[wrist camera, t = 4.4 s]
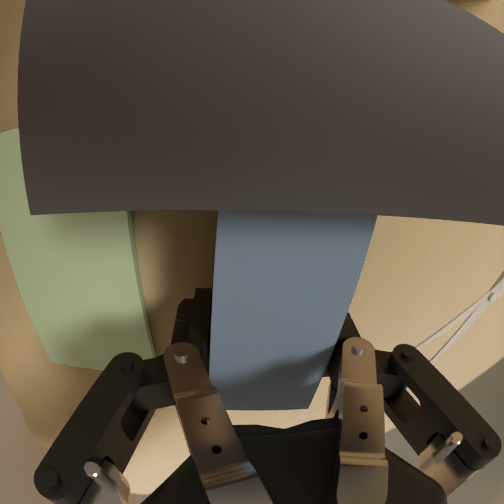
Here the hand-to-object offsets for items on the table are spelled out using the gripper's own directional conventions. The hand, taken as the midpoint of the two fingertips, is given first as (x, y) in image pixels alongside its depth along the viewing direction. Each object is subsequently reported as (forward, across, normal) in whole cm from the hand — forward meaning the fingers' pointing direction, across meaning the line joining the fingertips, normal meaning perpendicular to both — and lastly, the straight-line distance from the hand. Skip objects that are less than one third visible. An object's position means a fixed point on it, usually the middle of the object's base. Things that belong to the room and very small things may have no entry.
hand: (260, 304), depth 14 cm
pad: (+1, +10, -1) cm, 10 cm away
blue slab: (+1, 0, -4) cm, 4 cm away
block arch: (+1, 0, -9) cm, 9 cm away
